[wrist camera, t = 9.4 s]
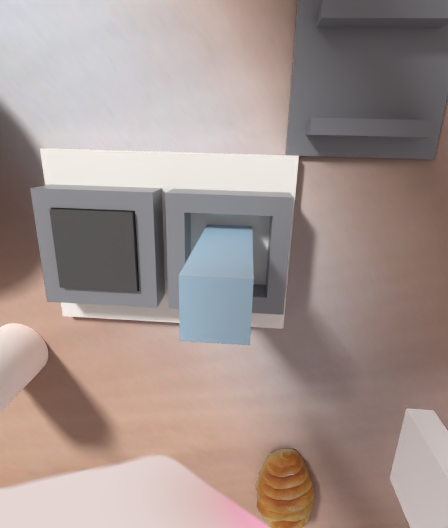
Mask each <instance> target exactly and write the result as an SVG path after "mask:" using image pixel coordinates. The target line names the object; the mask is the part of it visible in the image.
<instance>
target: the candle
mask: <svg viewBox="0 0 448 528" xmlns="http://www.w3.org/2000/svg"><path fill="white" fill-rule="evenodd" d="M47 360H48V348H47V345H46V343H45V341H44V339H43V338H42V337H41V336H40V335H39V334H38V333H37V332H36V331H34V330H33V329H32V328H29V327H27V326H25V325H21V324H7V325H3V326H2V327H0V413H1V412H2V411H3V410H4V409H5V408H6V407H7V406H8V405H9V403H10V402H11V401H12V400H13V399H14V398H15V397H16V396H17V395H18V394H19V393H20V392H21V391H22V390H23V389H24V388H25V386H26V385H27V384H28V383H29V382H30V381H31V380H32V379H33V378H34V377H35V376H36V375H37V374H38V373H39V372H40V370H41V369H42V368H43V367H44V366H45V365H46V363H47Z"/></svg>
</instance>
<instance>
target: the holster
mask: <svg viewBox="0 0 448 528" xmlns="http://www.w3.org/2000/svg"><path fill="white" fill-rule="evenodd" d="M447 97H448V0H298V3H297V16H296V28H295V41H294V54H293V66H292V79H291V92H290V104H289V117H288V130H287V143H286V155H292V156H327V157H363V158H398V159H433V160H434V159H435V154H436V150H437V145H438V140H439V135H440V131H441V126H442V121H443V116H444V112H445V107H446V102H447Z"/></svg>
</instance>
